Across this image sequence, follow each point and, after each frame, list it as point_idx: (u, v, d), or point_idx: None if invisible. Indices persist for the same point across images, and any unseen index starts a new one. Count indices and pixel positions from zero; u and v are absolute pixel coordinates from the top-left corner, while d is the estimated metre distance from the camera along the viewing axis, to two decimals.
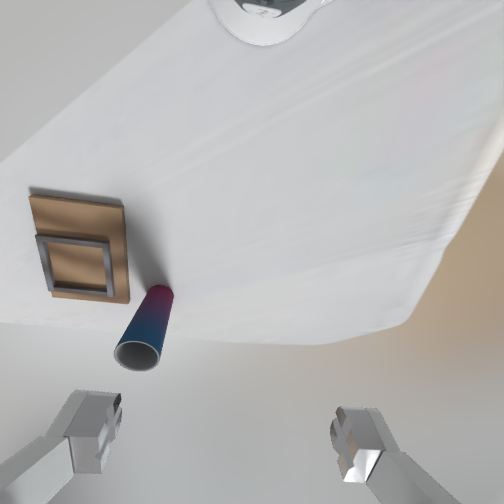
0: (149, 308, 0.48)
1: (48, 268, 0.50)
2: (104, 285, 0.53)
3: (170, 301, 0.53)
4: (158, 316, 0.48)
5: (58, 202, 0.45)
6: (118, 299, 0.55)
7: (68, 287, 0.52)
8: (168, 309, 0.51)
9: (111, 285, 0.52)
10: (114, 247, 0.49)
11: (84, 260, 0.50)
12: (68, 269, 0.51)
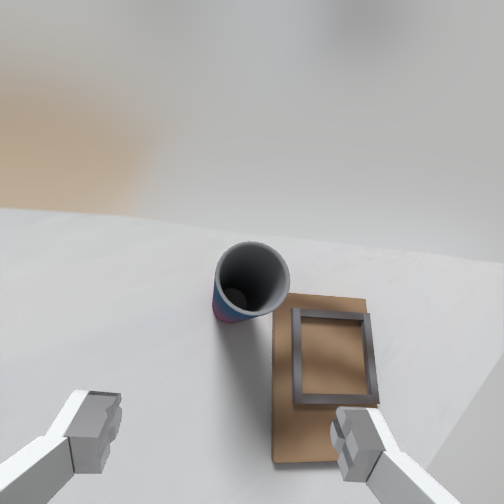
0: (239, 320, 0.31)
1: (367, 350, 0.38)
2: (303, 323, 0.39)
3: (213, 307, 0.35)
4: (224, 313, 0.30)
5: None
6: (287, 298, 0.39)
7: (346, 319, 0.40)
8: (214, 305, 0.33)
9: (294, 328, 0.37)
10: (286, 391, 0.35)
11: (325, 363, 0.37)
12: (345, 346, 0.39)
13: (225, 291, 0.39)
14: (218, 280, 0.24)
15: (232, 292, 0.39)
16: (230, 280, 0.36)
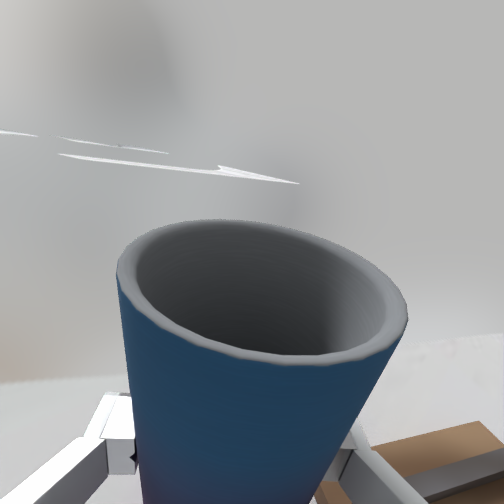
0: None
1: None
2: None
3: None
4: None
5: None
6: None
7: (494, 476, 0.16)
8: None
9: None
10: None
11: None
12: None
13: None
14: (131, 277, 0.06)
15: None
16: None
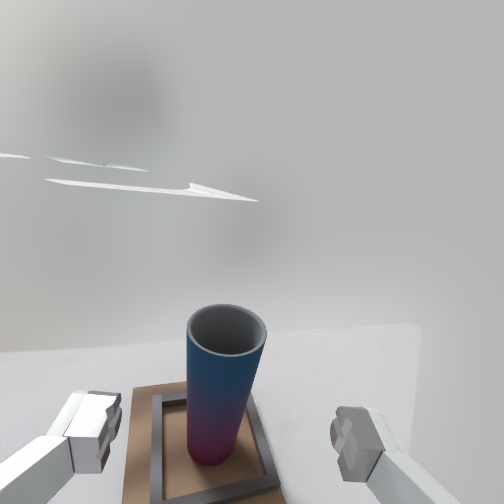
0: (225, 419, 0.24)
1: (251, 421, 0.32)
2: (169, 412, 0.32)
3: (190, 437, 0.27)
4: (205, 408, 0.24)
5: None
6: (149, 391, 0.34)
7: None
8: (190, 422, 0.26)
9: (153, 417, 0.30)
10: None
11: None
12: None
13: None
14: (191, 334, 0.23)
15: None
16: None
